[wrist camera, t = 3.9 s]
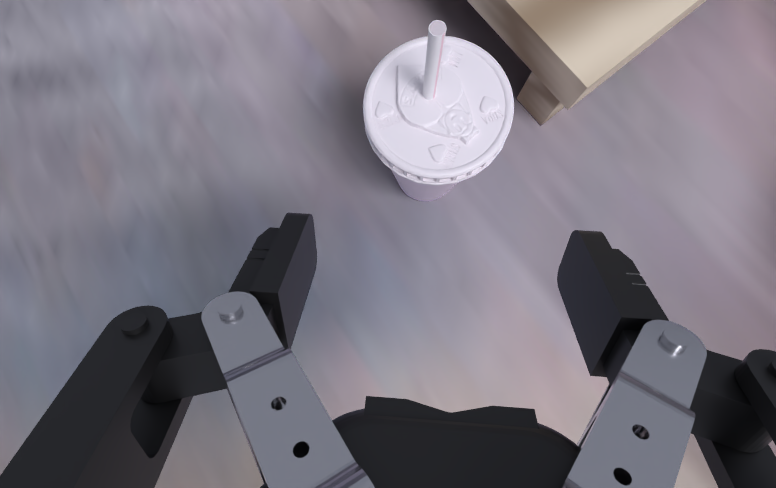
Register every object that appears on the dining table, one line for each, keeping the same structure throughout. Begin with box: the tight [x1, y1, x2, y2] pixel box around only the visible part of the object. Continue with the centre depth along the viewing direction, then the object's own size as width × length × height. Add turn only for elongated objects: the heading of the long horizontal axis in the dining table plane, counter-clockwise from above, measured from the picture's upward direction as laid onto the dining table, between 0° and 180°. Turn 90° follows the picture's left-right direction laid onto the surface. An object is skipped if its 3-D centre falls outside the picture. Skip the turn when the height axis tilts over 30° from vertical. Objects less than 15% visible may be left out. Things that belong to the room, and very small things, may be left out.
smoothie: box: [363, 20, 514, 202], centre depth 20 cm, size 6×6×14 cm
